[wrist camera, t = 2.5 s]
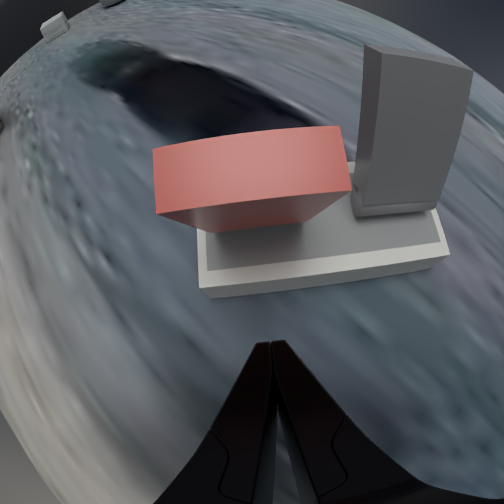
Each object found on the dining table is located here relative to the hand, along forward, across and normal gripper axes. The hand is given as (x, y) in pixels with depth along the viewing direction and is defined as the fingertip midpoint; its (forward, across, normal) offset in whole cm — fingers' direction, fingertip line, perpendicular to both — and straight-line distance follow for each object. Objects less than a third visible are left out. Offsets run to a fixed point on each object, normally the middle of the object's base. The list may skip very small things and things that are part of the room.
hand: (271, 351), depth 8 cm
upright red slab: (+9, 0, -2) cm, 9 cm away
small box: (+52, +39, -39) cm, 76 cm away
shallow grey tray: (+12, -4, +1) cm, 12 cm away
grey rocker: (+9, -8, -2) cm, 12 cm away
